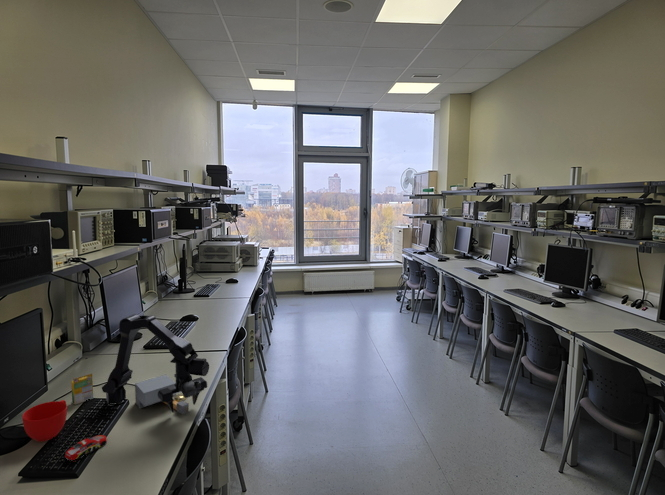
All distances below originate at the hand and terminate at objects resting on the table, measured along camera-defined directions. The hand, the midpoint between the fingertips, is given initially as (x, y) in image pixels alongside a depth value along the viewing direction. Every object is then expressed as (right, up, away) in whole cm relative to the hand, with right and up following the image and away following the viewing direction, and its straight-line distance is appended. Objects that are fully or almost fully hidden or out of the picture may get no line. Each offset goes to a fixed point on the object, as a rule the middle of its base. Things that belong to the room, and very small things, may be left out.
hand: (183, 408), depth 158 cm
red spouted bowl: (-43, -2, -17) cm, 46 cm away
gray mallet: (-5, -1, +3) cm, 6 cm away
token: (-5, 0, +10) cm, 12 cm away
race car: (-24, -4, -26) cm, 35 cm away
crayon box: (-46, +1, +5) cm, 46 cm away
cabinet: (-14, 0, +6) cm, 15 cm away
